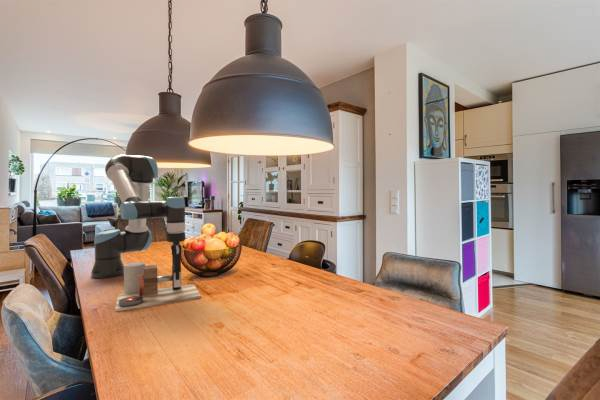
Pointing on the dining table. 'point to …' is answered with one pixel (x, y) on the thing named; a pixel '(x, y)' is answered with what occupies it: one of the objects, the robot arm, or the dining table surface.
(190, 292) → the block
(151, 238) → the robot arm
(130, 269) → the beige solid cylinder
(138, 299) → the handwheel
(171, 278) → the t-handle
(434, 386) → the dining table surface
